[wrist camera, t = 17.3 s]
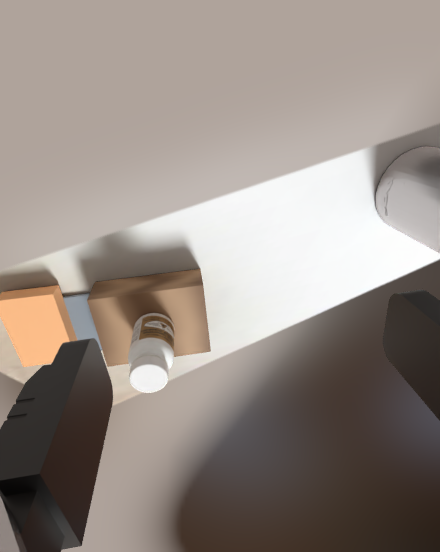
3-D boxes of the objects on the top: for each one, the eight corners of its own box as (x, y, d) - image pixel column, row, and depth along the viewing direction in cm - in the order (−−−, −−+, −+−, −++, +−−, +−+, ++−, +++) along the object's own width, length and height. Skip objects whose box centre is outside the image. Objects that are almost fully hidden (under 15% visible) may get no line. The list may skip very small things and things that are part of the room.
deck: (200, 268, 38) (203, 285, 35) (207, 331, 42) (210, 351, 39) (95, 282, 37) (87, 300, 34) (113, 344, 41) (107, 366, 38)
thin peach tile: (-7, 301, 34) (2, 292, 36) (23, 367, 38) (29, 355, 40) (52, 294, 35) (58, 285, 36) (76, 359, 39) (80, 348, 41)
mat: (91, 292, 38) (90, 294, 37) (107, 347, 42) (107, 349, 41) (23, 301, 37) (22, 303, 37) (46, 356, 41) (45, 358, 41)
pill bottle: (181, 320, 36) (181, 369, 29) (164, 349, 38) (160, 402, 31) (144, 305, 35) (135, 353, 28) (127, 336, 36) (115, 388, 29)
